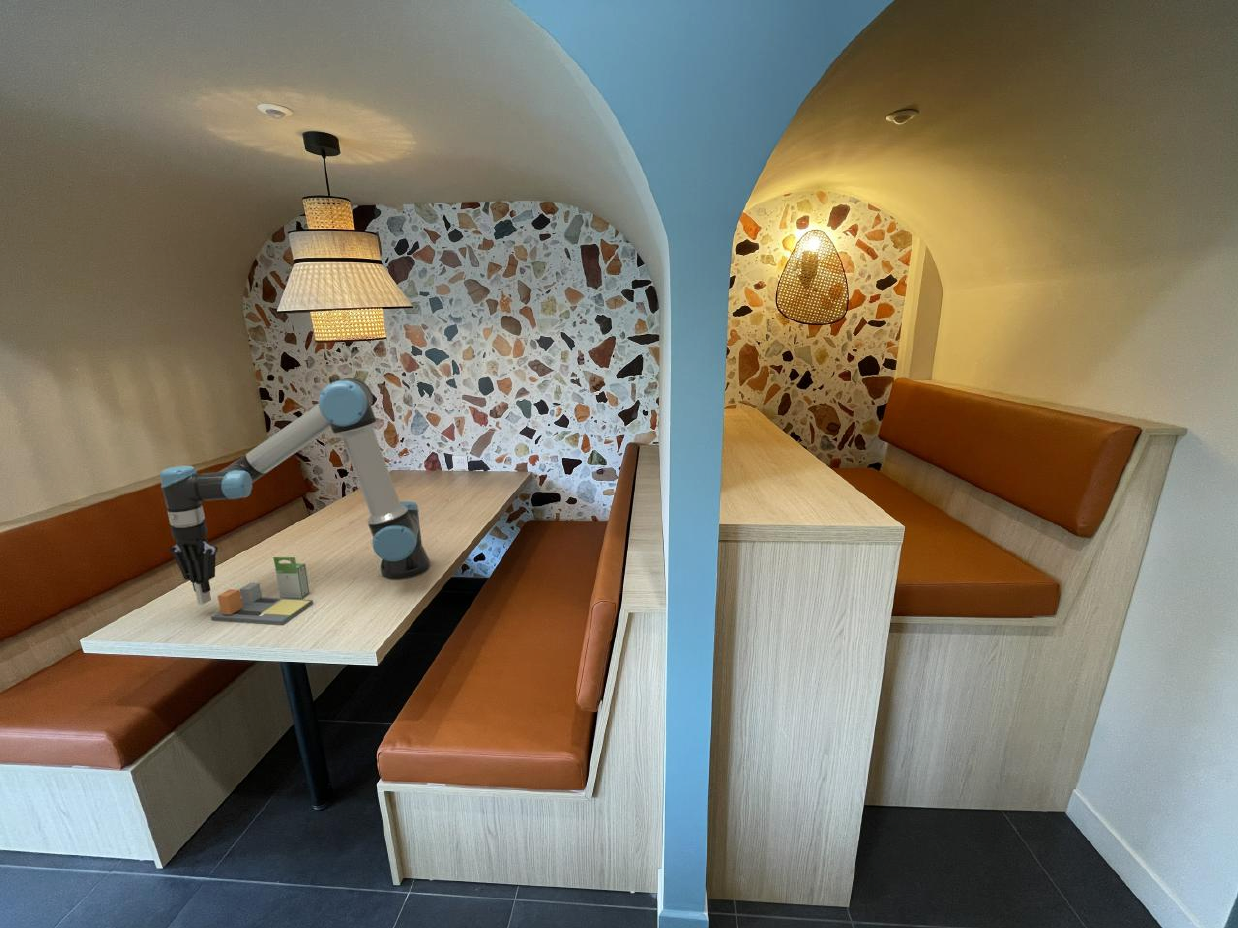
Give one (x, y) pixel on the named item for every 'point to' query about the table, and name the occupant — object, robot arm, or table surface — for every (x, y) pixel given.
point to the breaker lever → (230, 601)
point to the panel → (257, 608)
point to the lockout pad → (285, 607)
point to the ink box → (291, 578)
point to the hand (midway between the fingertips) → (204, 602)
